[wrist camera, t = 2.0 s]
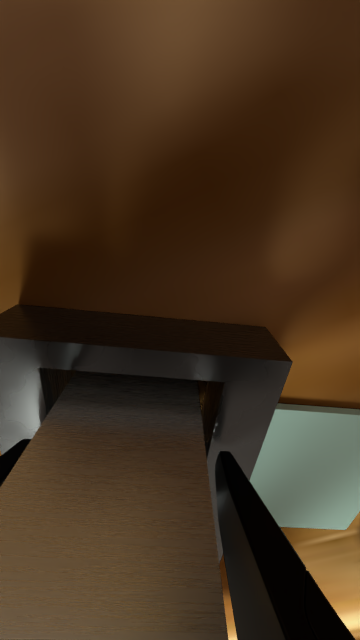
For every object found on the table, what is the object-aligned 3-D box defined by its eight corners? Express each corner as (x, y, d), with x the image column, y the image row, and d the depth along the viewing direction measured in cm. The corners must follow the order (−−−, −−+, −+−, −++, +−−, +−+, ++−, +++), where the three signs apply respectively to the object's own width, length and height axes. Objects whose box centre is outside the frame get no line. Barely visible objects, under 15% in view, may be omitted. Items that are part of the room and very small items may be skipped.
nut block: (183, 429, 12) (191, 753, 5) (95, 423, 12) (-35, 754, 5) (194, 356, 10) (235, 700, 3) (91, 347, 10) (-138, 699, 3)
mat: (341, 522, 16) (345, 529, 15) (226, 516, 15) (227, 524, 15) (418, 413, 12) (426, 420, 11) (264, 402, 11) (267, 408, 11)
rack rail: (199, 560, 18) (202, 610, 16) (66, 555, 17) (49, 606, 15) (265, 327, 10) (292, 361, 7) (17, 304, 9) (-36, 334, 7)
